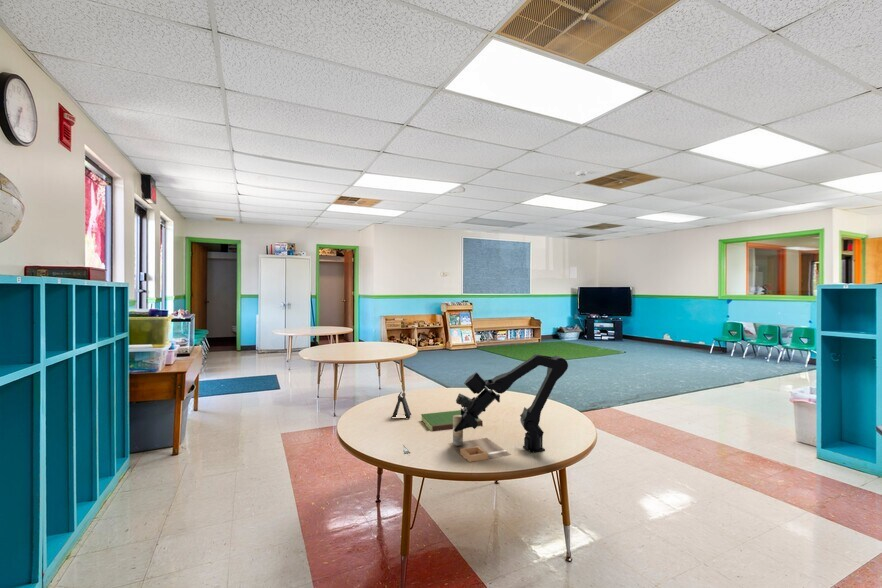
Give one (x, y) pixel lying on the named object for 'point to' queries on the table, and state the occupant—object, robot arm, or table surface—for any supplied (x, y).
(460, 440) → the beige cylinder
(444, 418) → the hardcover book
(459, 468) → the table surface
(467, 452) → the socket
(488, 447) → the clear acrylic sheet
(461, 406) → the robot arm
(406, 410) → the black a-frame stand
